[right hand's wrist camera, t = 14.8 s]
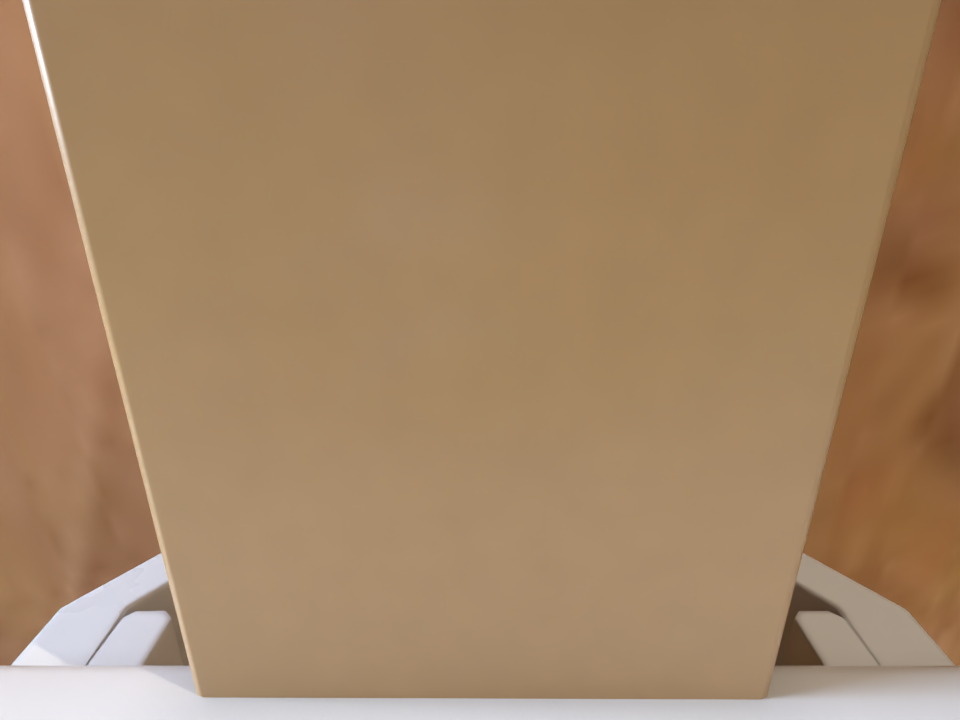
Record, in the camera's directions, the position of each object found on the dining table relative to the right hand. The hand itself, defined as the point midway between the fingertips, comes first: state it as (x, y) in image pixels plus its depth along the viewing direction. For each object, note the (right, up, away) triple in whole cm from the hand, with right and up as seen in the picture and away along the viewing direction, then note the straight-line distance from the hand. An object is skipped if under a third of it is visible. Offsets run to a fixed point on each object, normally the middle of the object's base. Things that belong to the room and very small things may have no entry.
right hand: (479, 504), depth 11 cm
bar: (0, +11, -1) cm, 11 cm away
